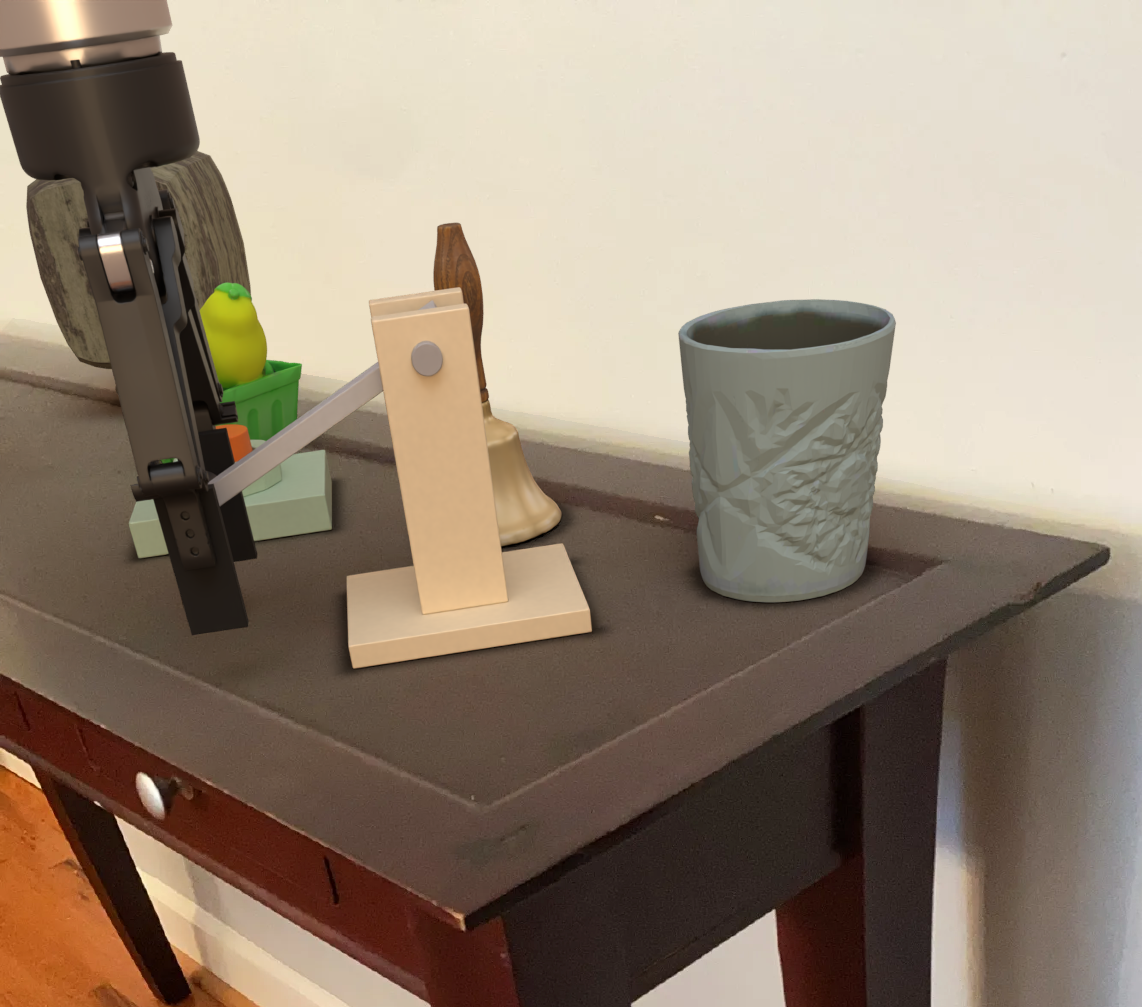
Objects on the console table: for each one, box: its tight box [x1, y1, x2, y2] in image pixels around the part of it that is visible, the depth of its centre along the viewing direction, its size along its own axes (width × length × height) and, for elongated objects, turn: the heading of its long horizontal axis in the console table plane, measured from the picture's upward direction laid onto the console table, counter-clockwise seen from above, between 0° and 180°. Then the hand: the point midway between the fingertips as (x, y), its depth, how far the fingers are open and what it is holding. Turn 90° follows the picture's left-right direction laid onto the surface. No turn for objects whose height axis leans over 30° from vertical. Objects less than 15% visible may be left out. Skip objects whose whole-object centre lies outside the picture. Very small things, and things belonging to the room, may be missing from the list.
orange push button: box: [216, 424, 253, 462], centre depth 87 cm, size 4×4×2 cm
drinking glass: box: [677, 298, 897, 603], centre depth 69 cm, size 10×10×12 cm
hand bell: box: [432, 222, 562, 547], centre depth 78 cm, size 8×8×16 cm
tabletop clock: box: [25, 150, 252, 395], centre depth 108 cm, size 14×9×25 cm, turn 84°
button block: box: [127, 440, 333, 559], centre depth 88 cm, size 12×10×4 cm
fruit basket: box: [160, 283, 303, 464], centre depth 99 cm, size 11×9×11 cm
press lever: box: [207, 300, 437, 506], centre depth 66 cm, size 15×6×2 cm, turn 98°
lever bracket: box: [345, 287, 593, 669], centre depth 68 cm, size 12×10×15 cm
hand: (226, 592), depth 70 cm, fingers open, 9 cm apart
